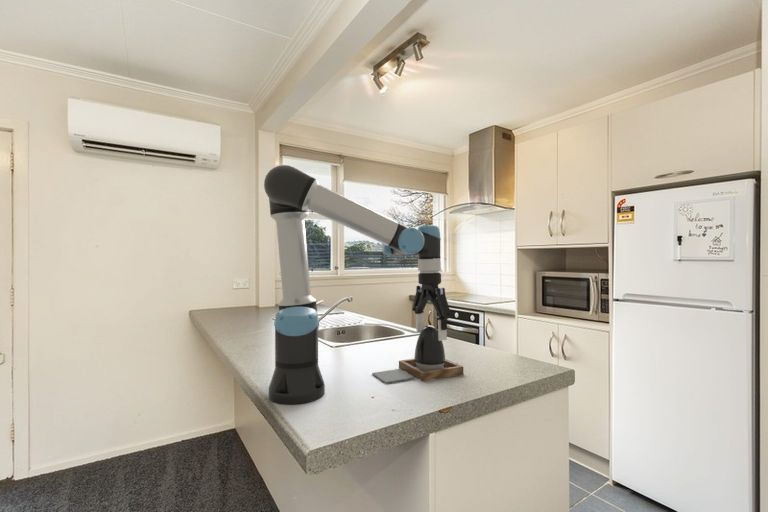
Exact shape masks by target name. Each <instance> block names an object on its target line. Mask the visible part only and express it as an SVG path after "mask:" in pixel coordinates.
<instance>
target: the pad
mask: <svg viewBox="0 0 768 512" xmlns="http://www.w3.org/2000/svg"><path fill="white" fill-rule="evenodd" d="M371 375H372V376H373V377H375V378H376V379H377V380H379V381H380V382H382V383H384V385H389V384H395V383H400V382H401V383H402V382H407V381H413V380H415V379H416V378H415V377H414V376H412V375H410V374H408V373H407V372H405V371H403V370H402V369H400V368H395V369H390V370H389V369H388V370H382V371H376V372H372V373H371Z"/></svg>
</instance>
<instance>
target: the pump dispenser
mask: <svg viewBox="0 0 768 512" xmlns="http://www.w3.org/2000/svg"><path fill="white" fill-rule="evenodd" d="M445 352H446V351H445V346H444V342H443V340H441V341H439V340H438V328H436V327H435V326H433V325H429V324H428V325H426V326H425V325H424V328H423V329H422V331H421V332H420V333H419V335H418V338H417V341H416V344H415V350H414V356H413V357H414V358H413V359H414V360H415V362H416V365H417V367H416V368H418V369H420V370H421V371H423V372H424V371H431V370H437V369H443V368H444V367H443V366H444V362H445V359H446V353H445Z"/></svg>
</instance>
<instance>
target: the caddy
mask: <svg viewBox="0 0 768 512" xmlns="http://www.w3.org/2000/svg"><path fill="white" fill-rule="evenodd" d="M398 369H401V370H403V371H404V372H406V373H408V374H410V375H411V376H413V377H415V379H417V380H419V381H421V382H427V381H432V380H438V379H444V378H445V379H446V378H449V377H450V378H451V377H456V376H462V375H464V366H463V365H461V364H458V363H456V362H454V361H451V360H449V359H446V358H445V362H444V366H443V368H442V369H437V370H431V371H424V372H423V371H421V370H420V369H418V367H417V365H416V362H415V360H414V358H408V359H403V360H402V359H401V360H398Z"/></svg>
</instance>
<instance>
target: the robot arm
mask: <svg viewBox="0 0 768 512" xmlns="http://www.w3.org/2000/svg"><path fill="white" fill-rule="evenodd" d="M263 187H264V193H265V194H266V196H267V197H268V202H269V203H268V204H269V211H270V212H269V213H270V217H271V218H272V219H273V220H274V221H275V222H276V223H275V224H276V235H277V236H276V237H277V245H278V246H277V247H278V258H279V267H280V279H281V280H280V281H281V290H282V299H281V300H280V301H279V303H278V311H277V312H276V313H275V316H274V317H275V318H274V319H275V320H274V324H273V325H274V349H275V350H274V353H275V354H274V355H275V357H274V363H275V364H274V370H273V375H272V377H271V380H270V383H269V387H268V399H269V401H272V402H274V403H277V404H282V405H296V404H305V403H309V402H312V401H313V402H314V401H315V400H318V399H321V398H322V397H323V396H324V395H325V390H326V389H325V386H326V385H325V382H324V378H323V375H322V373H321V370H320V367H319V327H320V319H319V317H318V316H319V315H318V305H317V299H316V298H315V297H313V296H312V293H311V284H310V281H311V280H310V270H309V258H308V246H307V237H306V226H305V224H306V223H305V220H306V219H307V217H308V216H309V215H310V214H309V211H311V212H314V213H315V214H317V215H321V216H322V217H325V218H326V219H329V220H331V221H333V222H335V223H337V224H339V225H342V226H344V227H346V228H348V229H350V230H352V231H355V232H357V233H359V234H361V235H364V236H366V237H368V238H370V239H371V240H372V239H373V240H374V241H376V242H378V243H381V251H382V253H383V255H385V256H405V255H406V256H411V255H417V271H419V273H418V274H417V275H418V277H417V279H418V285H416V288H415V289H416V290H415V291H416V292H415V295H414V296H415V297H414V299H413V303H412V309H411V310H412V311H413V312H414V314H415V321H416V333H417V334H420V332H421V331H422V329H423V328H424V327H425V314H424V313H425V312H424V310H425V307H426V305H427V303H428V301H429V302H431V303H432V305H433V308H434V309H435V311H436V314H437V315H438V316H437V317H438V318H437V330H438V340H439V341H441V340H442V341H447V340H448V339H447V338H448V336H447V335H448V333H447V331H448V319H451V318H452V313H451V310H450V307H449V303H448V299H447V296H446V288H445V287H439V285H441V283H442V273H441V269H442V265H441V239H442V238H441V230H440V227H439V226H438V225H435V224H434V225H432V224H431V225H429V224H427V225H418V226H417V228H414V227H408V226H406V225H404V224H402V223H399V222H398V221H396V220H393V219H392V218H390V217H387V216H385V215H383V214H382V213H379V212H377V211H374V210H373V209H371V208H369V207H367V206H365V205H363V204H360V203H358V202H356V201H354V200H353V199H349V198H347V197H346V196H344V195H341V194H340V193H338V192H336V191H334V190H332V189H329V188H327V187H325V186H323V185H321V184H319V181H318V179H317V178H315V177H313V176H311V175H309V174H307V173H306V172H304V171H302V170H299V169H298V168H296V167H294V166H291V165H287V164H281V165H277V166H275V167H273V168H271V169H270V170H269V171H268V172H267V174H266V175H265V178H264V182H263Z"/></svg>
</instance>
